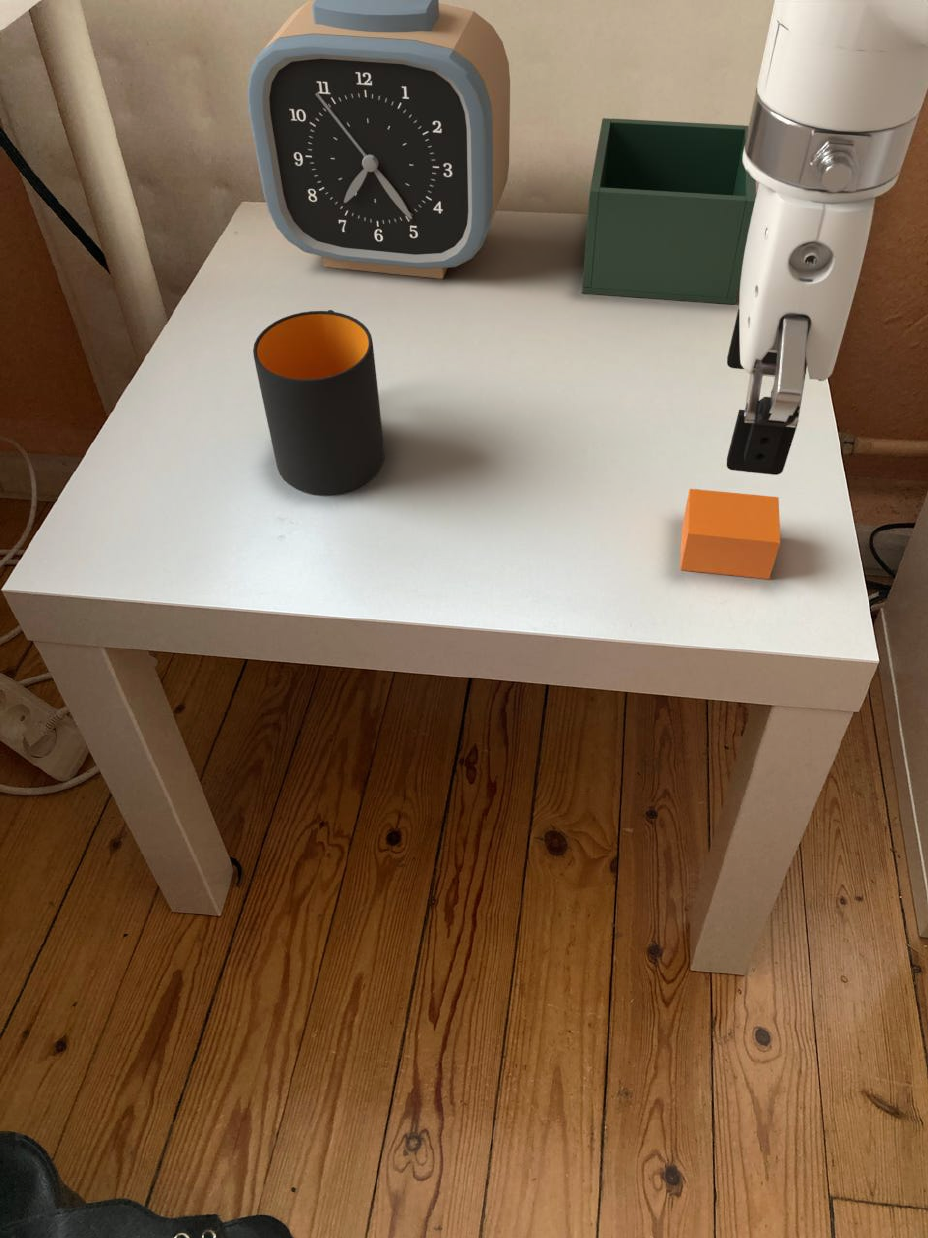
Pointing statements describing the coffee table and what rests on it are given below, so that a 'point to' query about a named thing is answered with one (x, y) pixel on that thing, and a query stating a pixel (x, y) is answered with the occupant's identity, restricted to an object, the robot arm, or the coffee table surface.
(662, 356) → the coffee table surface
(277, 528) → the coffee table surface
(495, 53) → the alarm clock
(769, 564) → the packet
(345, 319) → the mug
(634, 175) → the bin
